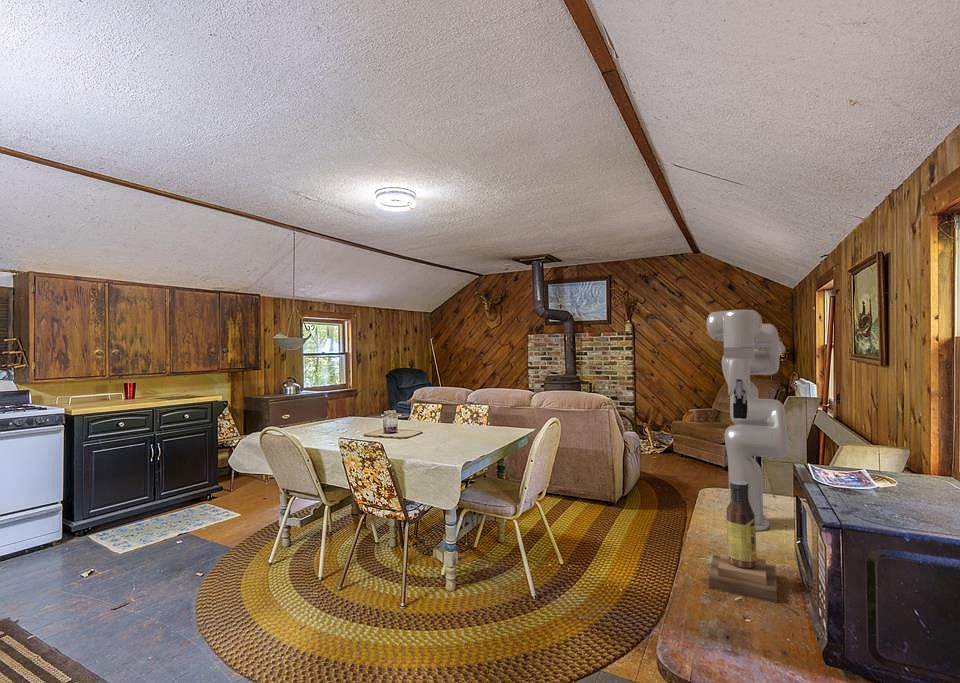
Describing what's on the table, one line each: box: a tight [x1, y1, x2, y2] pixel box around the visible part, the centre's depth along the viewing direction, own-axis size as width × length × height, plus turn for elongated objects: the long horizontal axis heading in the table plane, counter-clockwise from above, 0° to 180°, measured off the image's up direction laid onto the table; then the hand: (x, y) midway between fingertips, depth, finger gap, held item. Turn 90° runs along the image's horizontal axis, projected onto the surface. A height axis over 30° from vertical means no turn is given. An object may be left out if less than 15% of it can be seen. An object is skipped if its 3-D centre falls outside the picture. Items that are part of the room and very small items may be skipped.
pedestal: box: [708, 551, 778, 603], centre depth 119 cm, size 14×14×4 cm
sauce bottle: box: [726, 481, 758, 568], centre depth 119 cm, size 6×6×20 cm
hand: (740, 415), depth 134 cm, fingers open, 9 cm apart
